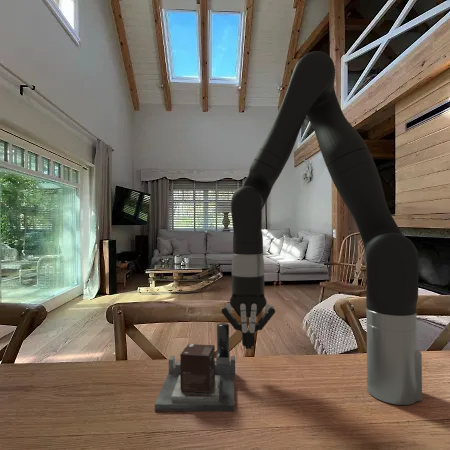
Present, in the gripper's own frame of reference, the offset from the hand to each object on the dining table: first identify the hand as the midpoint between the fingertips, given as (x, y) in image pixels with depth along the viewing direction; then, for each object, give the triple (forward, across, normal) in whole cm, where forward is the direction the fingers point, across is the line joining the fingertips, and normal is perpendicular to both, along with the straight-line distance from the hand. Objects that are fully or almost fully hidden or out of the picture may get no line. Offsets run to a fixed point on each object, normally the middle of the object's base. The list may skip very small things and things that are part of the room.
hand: (248, 347), depth 75 cm
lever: (+3, +6, 0) cm, 7 cm away
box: (+5, +11, +9) cm, 15 cm away
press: (+7, +11, +7) cm, 14 cm away
